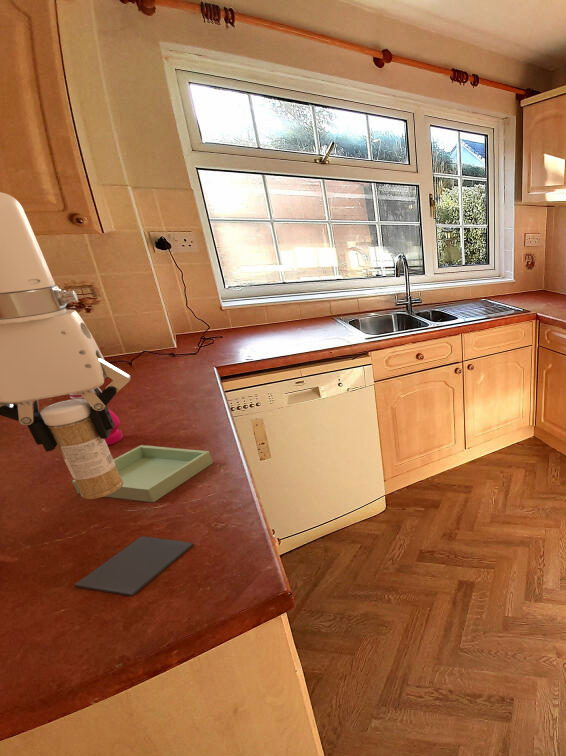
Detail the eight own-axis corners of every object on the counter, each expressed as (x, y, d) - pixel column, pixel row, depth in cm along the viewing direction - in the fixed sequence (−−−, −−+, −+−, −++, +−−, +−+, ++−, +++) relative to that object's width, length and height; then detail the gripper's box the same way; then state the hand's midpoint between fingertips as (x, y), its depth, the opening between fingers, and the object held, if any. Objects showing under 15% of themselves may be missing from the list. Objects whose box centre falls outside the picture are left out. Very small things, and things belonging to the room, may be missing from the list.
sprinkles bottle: (93, 485, 61) (52, 400, 56) (131, 478, 62) (95, 395, 57) (74, 504, 57) (29, 414, 52) (115, 496, 58) (75, 409, 53)
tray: (77, 493, 82) (71, 480, 81) (145, 456, 94) (141, 444, 93) (153, 502, 79) (148, 489, 78) (213, 462, 91) (209, 451, 90)
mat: (75, 586, 61) (74, 584, 61) (142, 537, 70) (141, 536, 70) (132, 596, 59) (131, 594, 59) (193, 544, 68) (193, 542, 68)
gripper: (116, 292, 57) (161, 413, 64) (-78, 310, 48) (-2, 448, 55) (107, 301, 51) (157, 433, 58) (-116, 322, 42) (-25, 475, 49)
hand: (79, 439), depth 56 cm, fingers closed on sprinkles bottle, 4 cm apart
